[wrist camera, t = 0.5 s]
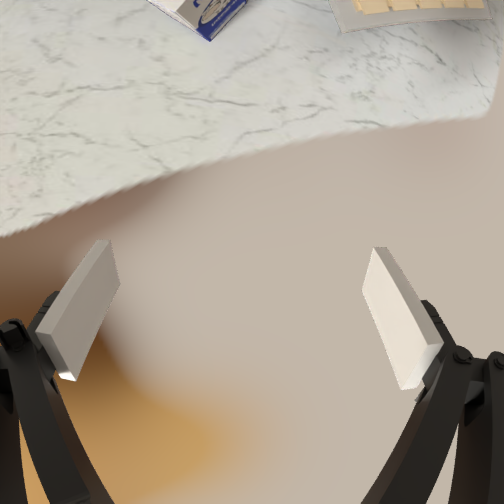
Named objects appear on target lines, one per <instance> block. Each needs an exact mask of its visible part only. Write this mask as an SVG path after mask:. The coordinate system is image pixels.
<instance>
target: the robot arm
mask: <svg viewBox="0 0 504 504" xmlns="http://www.w3.org/2000/svg"><path fill="white" fill-rule="evenodd" d="M119 286H120V281H119V277H118V273H117V268H116V264H115V259H114V255H113V250H112V245H111V240H97V241H96V243H95V244H94V245H93V246H92V248H91V249H90V250H89V252H88V253H87V254H86V256H85V257H84V259H83V260H82V261H81V263H80V264H79V266H78V267H77V268H76V270H75V271H74V272H73V274H72V275H71V277H70V278H69V280H68V281H67V283H66V284H65V286H64V287H63V289H62V290H61V291H55V292H54V293H52V294H51V295H50V296H49V297H47V299H46V300H45V302H44V303H43V305H42V307H41V308H40V309H39V311H38V313H37V314H36V316H35V317H34V318H33V320H32V322H31V323H30V325H29V327H28V328H27V330H26V329H25V327H24V325H23V323H22V321H21V320H19V319H10V320H7V321H5V322H4V323H2V325H0V343H1V345H2V346H0V504H28V501H27V495H26V489H25V483H24V477H23V468H22V459H21V448H20V435H19V420H20V423H21V427H22V430H23V434H24V437H25V440H26V443H27V446H28V449H29V452H30V455H31V458H32V461H33V464H34V466H35V469H36V471H37V474H38V477H39V479H40V482H41V484H42V486H43V488H44V491H45V493H46V495H47V498H48V500H49V502H50V504H114V502H113V500H112V499H111V498H110V496H109V494H108V492H107V490H106V489H105V487H104V485H103V484H102V482H101V480H100V478H99V476H98V475H97V473H96V471H95V469H94V467H93V465H92V464H91V462H90V460H89V458H88V456H87V454H86V452H85V450H84V448H83V446H82V444H81V441H80V439H79V437H78V435H77V433H76V431H75V428H74V426H73V424H72V421H71V419H70V417H69V414H68V412H67V410H66V407H65V405H64V402H63V399H62V397H61V394H60V392H59V389H58V386H57V383H56V381H55V379H54V377H53V375H54V372H55V370H57V372H58V374H59V375H60V377H61V378H63V379H68V380H72V381H76V380H77V377H78V375H79V372H80V370H81V368H82V365H83V363H84V361H85V358H86V356H87V354H88V351H89V349H90V347H91V345H92V342H93V340H94V338H95V336H96V333H97V331H98V329H99V327H100V325H101V323H102V321H103V318H104V316H105V314H106V312H107V310H108V308H109V306H110V304H111V302H112V300H113V298H114V296H115V294H116V292H117V290H118V288H119ZM362 293H363V295H364V297H365V300H366V302H367V304H368V307H369V309H370V312H371V314H372V316H373V319H374V321H375V323H376V326H377V329H378V331H379V334H380V336H381V338H382V341H383V344H384V346H385V349H386V351H387V354H388V357H389V359H390V362H391V364H392V367H393V370H394V373H395V375H396V378H397V381H398V383H399V386H400V389H401V390H405V389H411V388H416V387H417V386H418V384H419V383H420V381H421V380H423V382H424V385H425V387H424V388H423V390H422V391H421V392H420V394H419V395H418V397H417V398H416V399H415V401H416V402H417V403H416V405H415V407H414V409H413V412H412V414H411V416H410V418H409V420H408V422H407V424H406V426H405V428H404V430H403V432H402V434H401V436H400V438H399V440H398V442H397V444H396V446H395V448H394V449H393V452H392V453H391V455H390V457H389V458H388V460H387V462H386V464H385V466H384V467H383V469H382V471H381V472H380V474H379V476H378V478H377V479H376V481H375V482H374V484H373V486H372V487H371V489H370V490H369V492H368V493H367V495H366V496H365V498H364V499H363V501H362V502H361V504H426V502H427V500H428V498H429V496H430V494H431V492H432V490H433V487H434V485H435V483H436V481H437V478H438V476H439V473H440V471H441V469H442V467H443V464H444V461H445V459H446V457H447V454H448V451H449V449H450V446H451V443H452V440H453V438H454V435H455V432H456V429H457V425H458V423H459V425H458V438H457V449H456V458H455V465H454V474H453V479H452V485H451V491H450V496H449V501H448V504H504V354H503V353H501V352H496V351H494V352H492V353H491V354H490V355H489V356H488V358H487V359H479V358H473V356H472V354H471V353H470V351H469V350H467V349H466V348H464V347H462V346H458V345H456V344H455V342H454V340H453V338H452V336H451V334H450V333H449V331H448V329H447V327H446V326H445V324H444V323H443V321H442V319H441V317H439V314H438V312H437V311H436V309H435V307H433V305H431V304H430V303H429V302H428V301H427V300H420V299H419V298H418V296H417V294H416V293H415V291H414V290H413V288H412V286H411V285H410V283H409V281H408V280H407V278H406V276H405V275H404V274H403V272H402V270H401V269H400V267H399V266H398V264H397V262H396V261H395V259H394V258H393V256H392V255H391V253H390V252H389V250H388V249H387V248H386V247H373V251H372V255H371V258H370V262H369V266H368V270H367V273H366V277H365V281H364V284H363V288H362Z"/></svg>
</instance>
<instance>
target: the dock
mask: <svg viewBox="0 0 504 504" xmlns="http://www.w3.org/2000/svg"><path fill="white" fill-rule="evenodd" d="M328 2H329V4H330V6H331V9H332V11H333V13H334V16H335V18H336V20H337V23H338V25H339V28H340V30H341V33H342V34H343V33H348V32H353V31H359V30H364V29H370V28H377V27H383V26H390V25H398V24H407V23H417V22H429V21H446V20H489V19H492V16H491V13H490V10H489V7H488V4H487V1H486V0H328Z"/></svg>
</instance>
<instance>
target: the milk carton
mask: <svg viewBox="0 0 504 504" xmlns="http://www.w3.org/2000/svg"><path fill="white" fill-rule="evenodd" d="M147 1H148V2H150V3H151V4H153V5H154V6H156V7H157V8H158V9H160V10H161V11H163V12H164V13H166V14H167V15H168V16H170V17H172V18H173V19H175V20H177V21H178V22H180V23H182V24H183V25H185V26H186V27H188V28H190V29H191V30H193V31H194V32H196V33H197V34H199V35H200V36H202V37H203V38H205V39H206V40H208V41H209V42H210V41H211V40H212V39H213V38H214V37H215V36H216V35H217V33H218V32H219V31H220V30H221V29H222V28H223V27H224V26H225V25H226V24H227V22H228V21H229V20H230V19H231V18H232V17H233V16H234V15H235V14H236V13H237V12H238V11H239V10H240V9H241V8H242V7H243V6H244V5H245V4H246V0H147Z"/></svg>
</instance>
